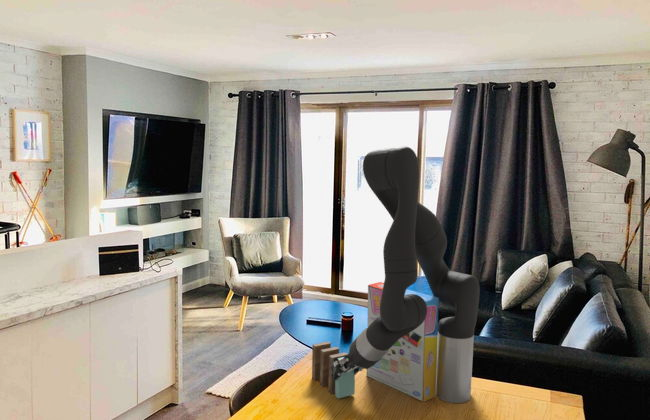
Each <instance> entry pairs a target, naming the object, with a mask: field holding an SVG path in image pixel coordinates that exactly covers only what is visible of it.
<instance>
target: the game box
mask: <svg viewBox="0 0 650 420" xmlns="http://www.w3.org/2000/svg"><path fill="white" fill-rule="evenodd" d="M383 286H384V282H382V281H379V282H375V283H370V284H368V285H367V327H368V326H369V325H370V324H371V323H372V322H373V321H374V320H375V319H376V318H377V317H379V316H380V302H381V297H382V291H383ZM408 294H415V295H418V296H420V297H421V298H423V299H424V301H425V302H426V305H427V316H426V318H425V320H424V322H423V323H422V324H421V325H420V326H419V327H417V328H416V329H414V330H413V331H411V332H410V333H408V334H406V335H405V336H403V337H401V338H400V339H399V340H398V341H397V342H396V343H395V344H394V345H393V346H392V347H391V348H390V349H389V350H388V352H387V353H386V354H385V355H384V356H383V357H382V358H381V360H379V361H378V362H377V363H376V364H375V365H374V366H372V367H370V368H368V369H366V377H368V378H370V379H373V380H375V381H377V382H379V383H381V384H382V385H385V386H387V387H389V388H392V389H394V390H396V391H398V392H400V393H403V394H405V395H407V396H410V397H411V398H414V399H416V400H419V401H420V402H422V403H426V402H428V401H429V400H430V399H432V398H435V397H436V366H437V337H438V323H439V298H438V297H434V296H433V295H431V294H426V293H422V292H418V291H415V290H411V289H408V288H407V289H406V291H405V295H408Z"/></svg>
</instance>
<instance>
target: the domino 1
mask: <svg viewBox="0 0 650 420" xmlns="http://www.w3.org/2000/svg"><path fill="white" fill-rule="evenodd" d="M327 348H332V347H331V342H330V341H324V342H318V343H313V344H312V350H311V352H312V353H311V354H312V356H311V357H312V359H311V363H312V364H311V365H312V366H311V379H312V380H313V381H315V382H316V381H320V357H321V350H322V349H327Z"/></svg>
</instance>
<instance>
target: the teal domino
mask: <svg viewBox="0 0 650 420" xmlns="http://www.w3.org/2000/svg"><path fill="white" fill-rule="evenodd" d="M343 358H344V357H342V358H338V359H339V360H341V359H343ZM341 367H342V366H341ZM341 370H343V368H342V369H341ZM355 376H356V375H355V374H354V369H353V370H351V371H350V372H349V373H344V374H342V375H341V376H340V377H339V378H338V379H337V380H335V393H334V394H335V395H334V396H335V397H336V398H337V399H342V398H346V397H349V396H352V395H353V396H354V395H355V391H356V390H355V387H356V386H355V385H356V383H355V382H356V381H355V380H356V379H355V378H356V377H355Z"/></svg>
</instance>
